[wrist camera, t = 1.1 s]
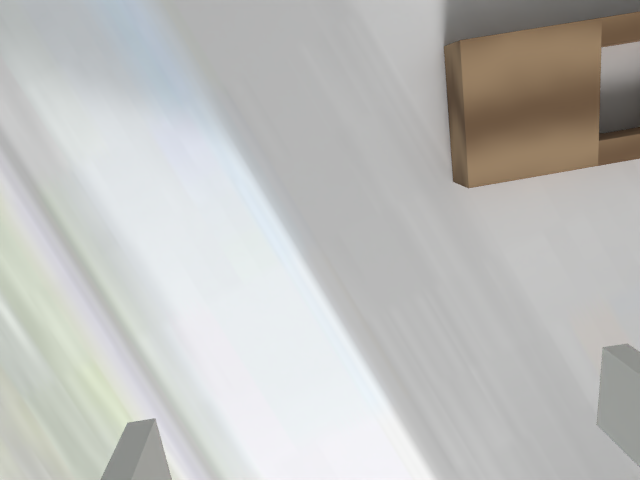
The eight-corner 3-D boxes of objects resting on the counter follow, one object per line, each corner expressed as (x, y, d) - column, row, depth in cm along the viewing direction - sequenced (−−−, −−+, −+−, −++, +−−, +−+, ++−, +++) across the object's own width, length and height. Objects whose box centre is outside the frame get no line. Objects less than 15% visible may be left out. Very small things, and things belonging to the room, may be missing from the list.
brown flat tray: (443, 46, 32) (461, 39, 29) (730, 0, 33) (776, -11, 30) (453, 181, 35) (469, 188, 32) (716, 136, 36) (757, 138, 33)
